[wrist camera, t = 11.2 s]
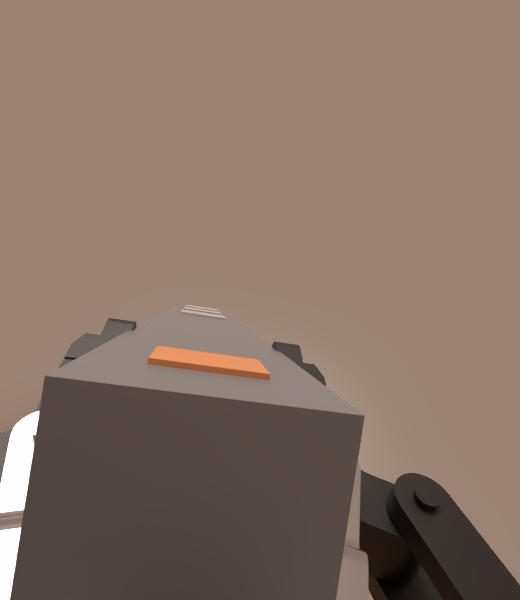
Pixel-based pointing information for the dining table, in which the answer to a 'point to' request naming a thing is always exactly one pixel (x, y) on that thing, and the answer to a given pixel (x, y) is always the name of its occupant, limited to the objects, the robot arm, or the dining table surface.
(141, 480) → the gray square bar
